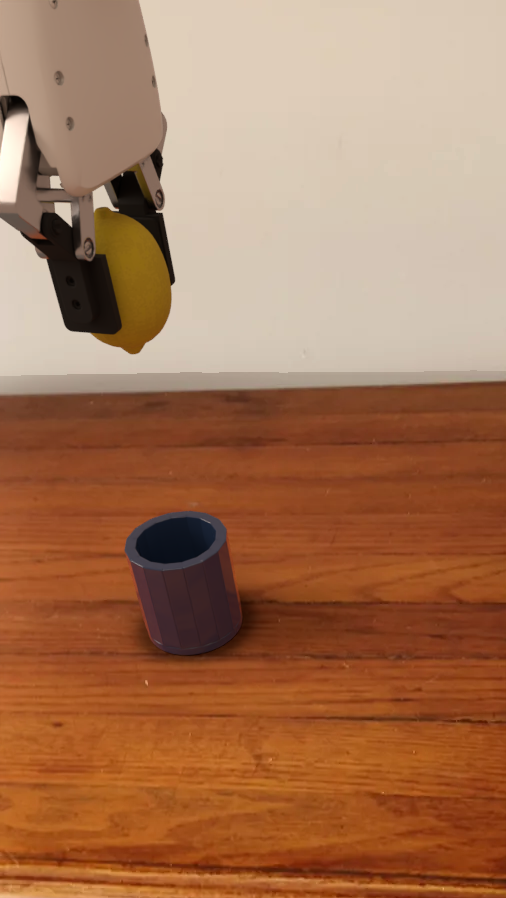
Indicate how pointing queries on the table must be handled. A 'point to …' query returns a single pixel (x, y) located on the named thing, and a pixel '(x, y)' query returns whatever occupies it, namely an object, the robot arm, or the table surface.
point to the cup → (185, 581)
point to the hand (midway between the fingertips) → (122, 303)
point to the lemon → (133, 279)
